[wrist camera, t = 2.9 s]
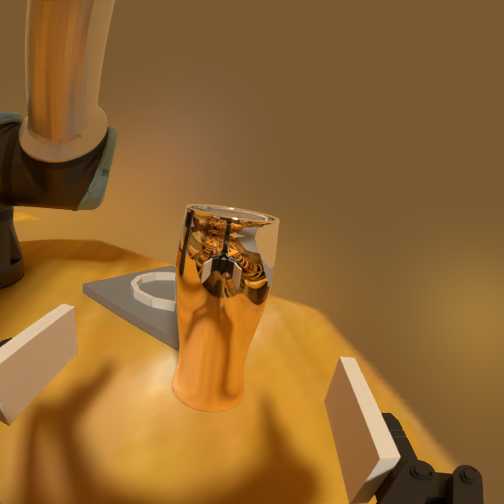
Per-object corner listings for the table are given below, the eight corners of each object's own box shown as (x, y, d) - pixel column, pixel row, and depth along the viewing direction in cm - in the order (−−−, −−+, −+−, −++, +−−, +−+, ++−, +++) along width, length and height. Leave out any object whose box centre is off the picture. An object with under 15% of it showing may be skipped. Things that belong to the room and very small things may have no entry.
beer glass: (203, 359, 30) (225, 204, 27) (263, 391, 26) (299, 221, 23) (150, 385, 24) (162, 202, 21) (213, 429, 21) (245, 222, 17)
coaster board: (83, 292, 39) (82, 277, 38) (170, 272, 54) (171, 259, 54) (178, 350, 31) (179, 331, 30) (261, 306, 46) (264, 292, 46)
